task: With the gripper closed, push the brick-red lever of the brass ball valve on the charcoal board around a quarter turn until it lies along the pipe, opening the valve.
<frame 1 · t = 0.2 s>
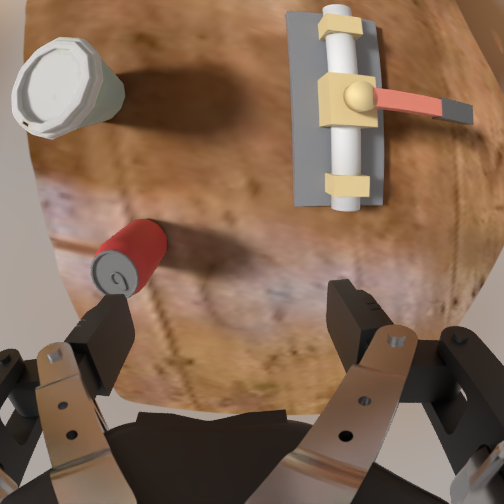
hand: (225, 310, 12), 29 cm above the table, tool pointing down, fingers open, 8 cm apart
beer can: (145, 240, 41), on the table
valve lever: (414, 104, 28), point 9 cm above the table, hinge at 0.0°
valve board: (336, 105, 36), on the table
disposable coffee cup: (107, 99, 34), on the table
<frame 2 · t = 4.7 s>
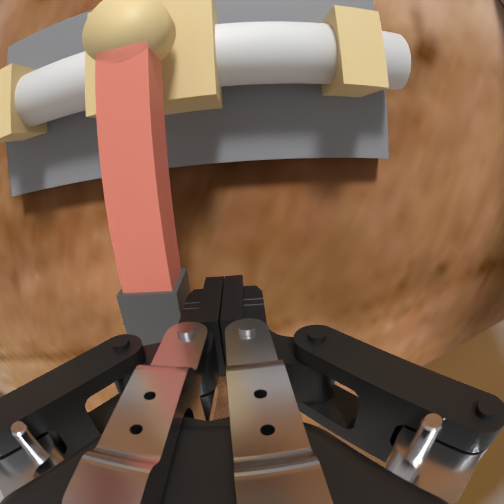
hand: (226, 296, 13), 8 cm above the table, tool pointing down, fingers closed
valve lever: (139, 199, 11), point 8 cm above the table, hinge at 0.0°, touching gripper
valve board: (174, 75, 17), on the table
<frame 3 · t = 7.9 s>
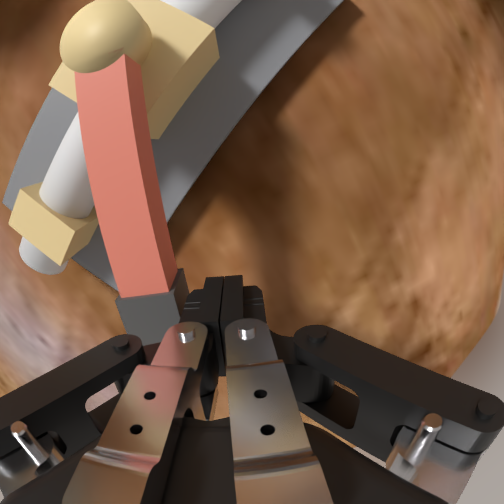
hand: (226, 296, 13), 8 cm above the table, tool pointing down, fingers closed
valve lever: (130, 204, 11), point 9 cm above the table, hinge at 45.4°, touching gripper
valve board: (157, 79, 17), on the table
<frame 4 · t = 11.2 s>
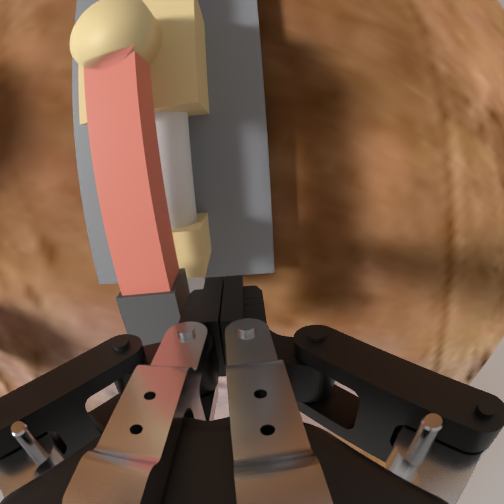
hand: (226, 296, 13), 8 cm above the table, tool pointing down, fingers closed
valve lever: (134, 202, 11), point 9 cm above the table, hinge at 87.5°, touching gripper
valve board: (165, 77, 17), on the table
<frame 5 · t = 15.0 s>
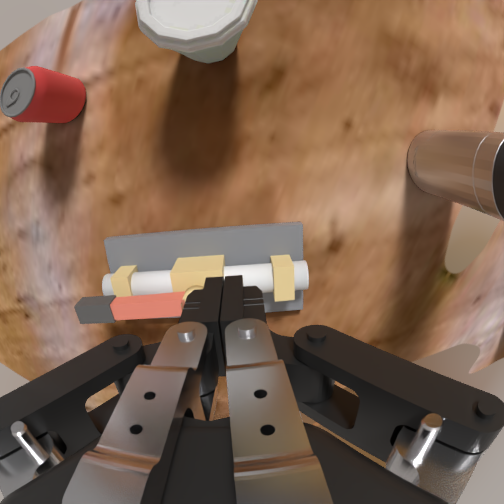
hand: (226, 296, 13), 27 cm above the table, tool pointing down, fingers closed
beer can: (68, 100, 33), on the table
valve lever: (140, 306, 34), point 9 cm above the table, hinge at 87.5°
valve board: (204, 272, 42), on the table
disposable coffee cup: (209, 43, 32), on the table
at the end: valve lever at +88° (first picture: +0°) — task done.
